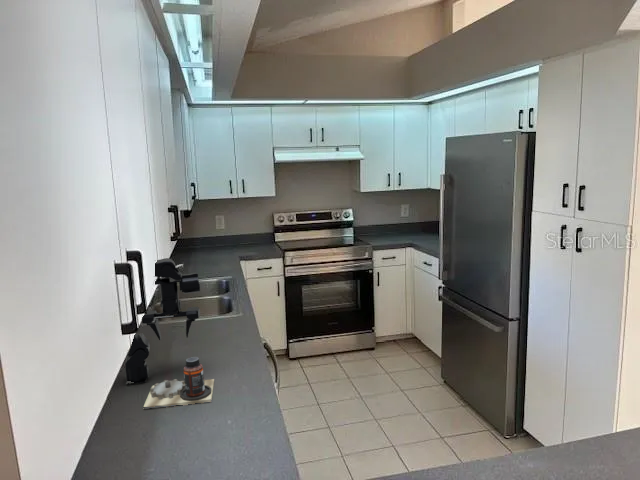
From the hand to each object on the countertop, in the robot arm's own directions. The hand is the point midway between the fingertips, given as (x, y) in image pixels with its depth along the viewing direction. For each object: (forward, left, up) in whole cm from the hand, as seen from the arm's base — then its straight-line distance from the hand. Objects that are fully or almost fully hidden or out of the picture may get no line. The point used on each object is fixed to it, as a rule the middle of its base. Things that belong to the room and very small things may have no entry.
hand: (173, 338), depth 168 cm
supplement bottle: (+8, -19, -12) cm, 24 cm away
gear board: (+3, -17, -13) cm, 22 cm away
